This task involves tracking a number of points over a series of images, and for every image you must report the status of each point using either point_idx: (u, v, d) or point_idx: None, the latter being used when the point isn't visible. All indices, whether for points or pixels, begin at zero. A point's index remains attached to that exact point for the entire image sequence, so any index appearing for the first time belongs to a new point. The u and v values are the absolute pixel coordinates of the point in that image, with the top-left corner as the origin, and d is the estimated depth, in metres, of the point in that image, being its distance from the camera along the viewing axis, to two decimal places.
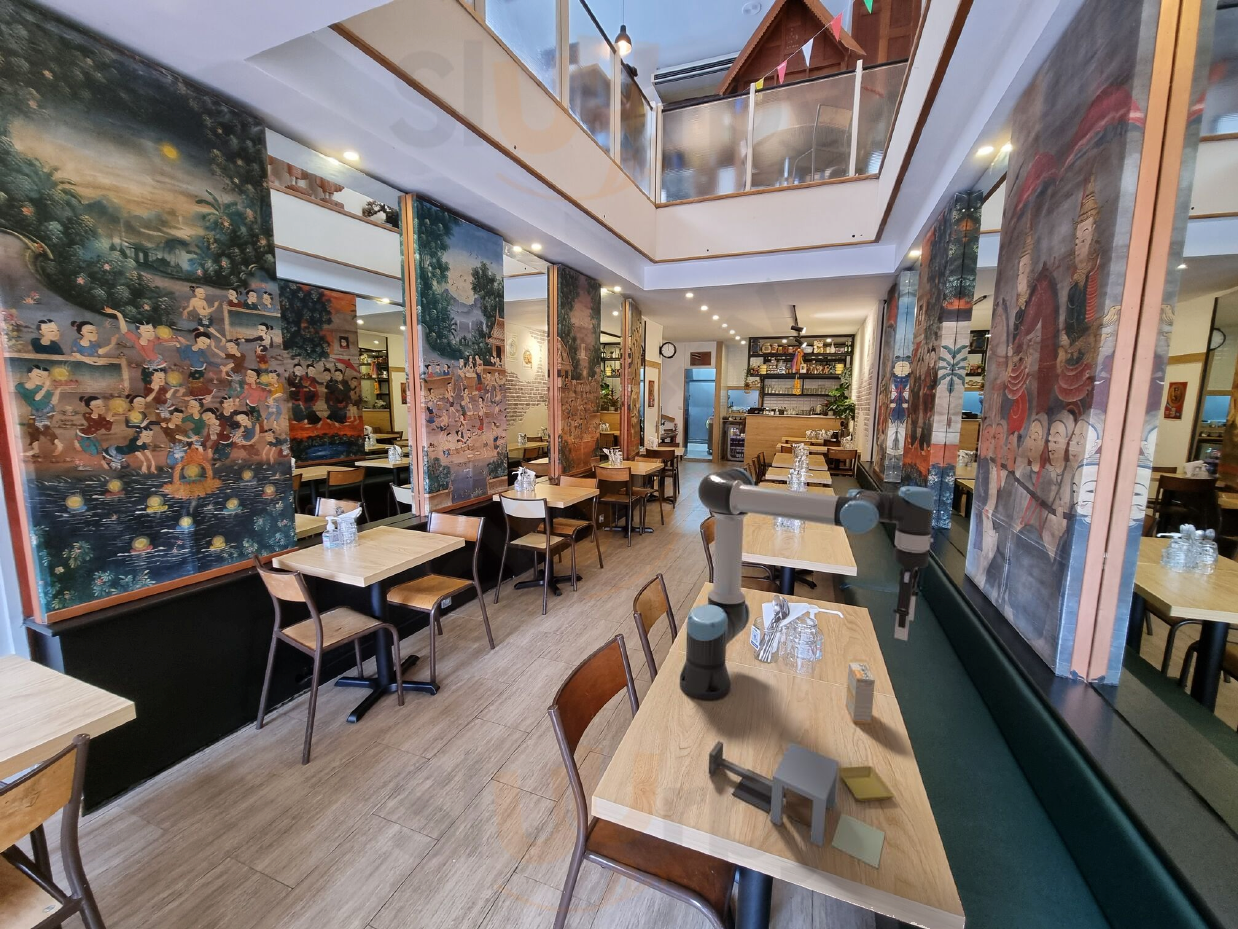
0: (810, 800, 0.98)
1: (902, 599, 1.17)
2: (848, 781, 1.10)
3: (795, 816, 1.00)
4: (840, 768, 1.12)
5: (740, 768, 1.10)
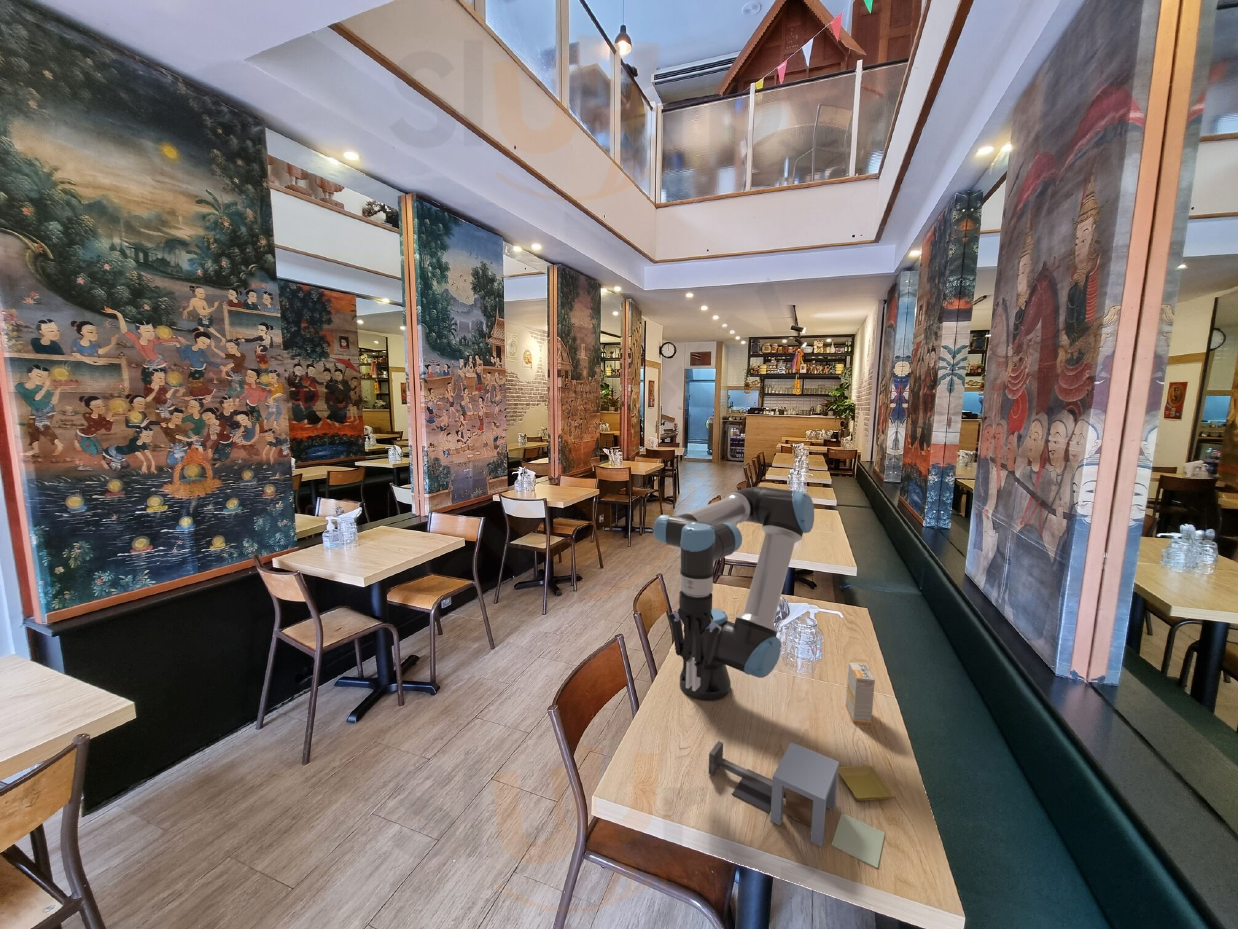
0: (810, 800, 0.98)
1: None
2: (848, 781, 1.10)
3: (795, 816, 1.00)
4: (840, 768, 1.12)
5: (740, 768, 1.10)
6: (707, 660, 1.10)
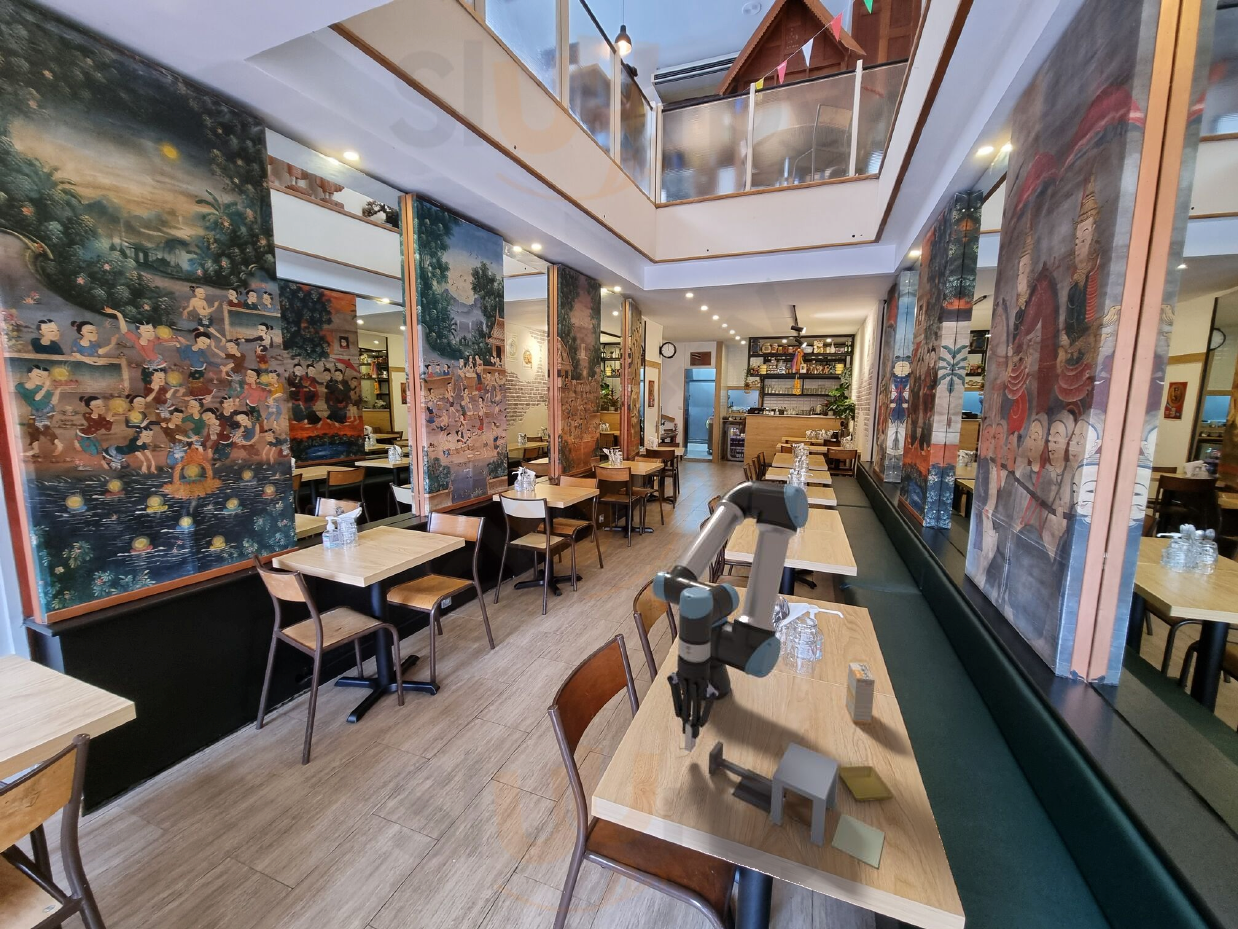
0: (810, 800, 0.98)
1: None
2: (848, 781, 1.10)
3: (795, 816, 1.00)
4: (840, 768, 1.12)
5: (740, 768, 1.10)
6: (702, 723, 1.13)
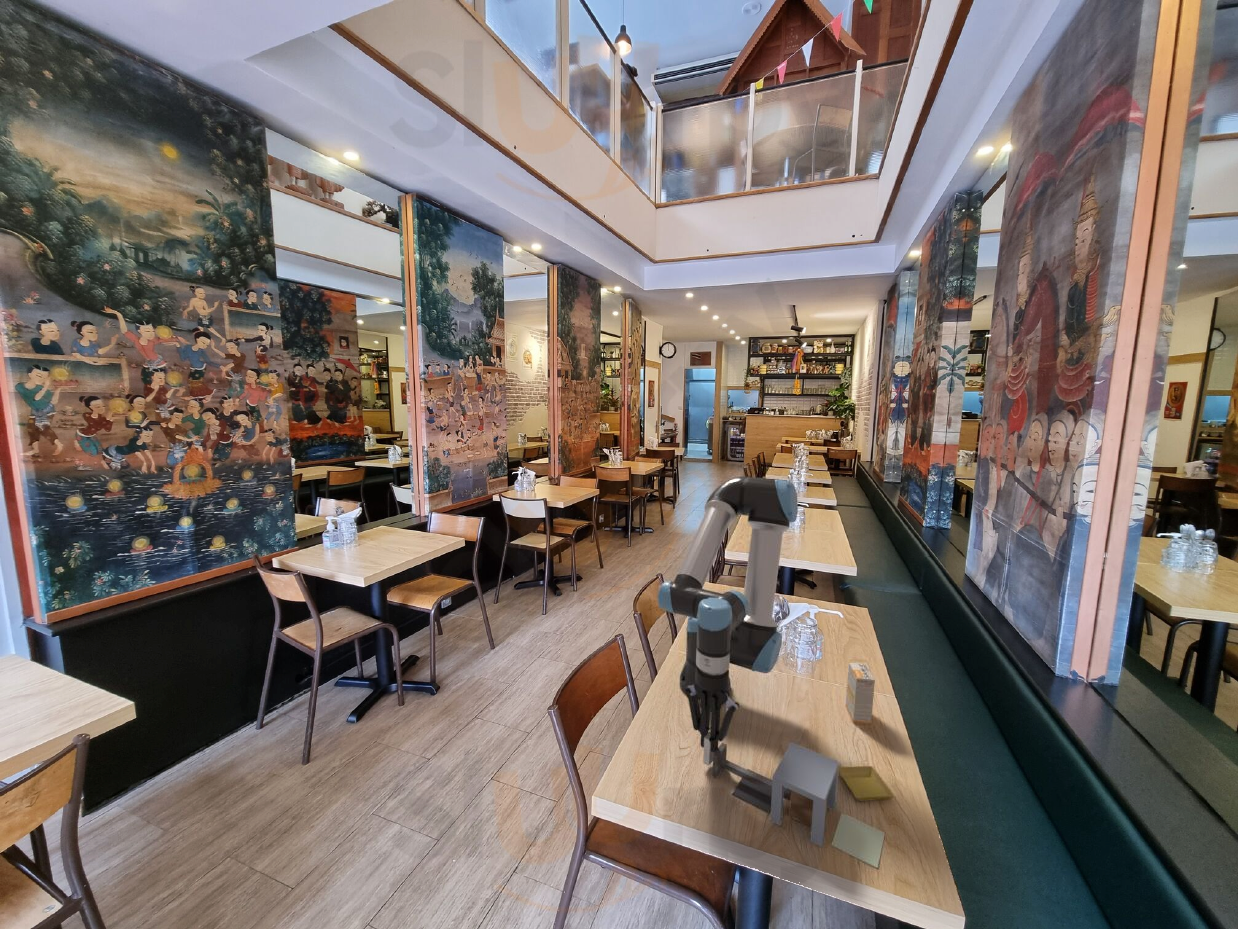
0: None
1: None
2: (848, 781, 1.10)
3: (800, 818, 0.99)
4: (840, 767, 1.12)
5: (744, 770, 1.09)
6: (722, 737, 1.10)
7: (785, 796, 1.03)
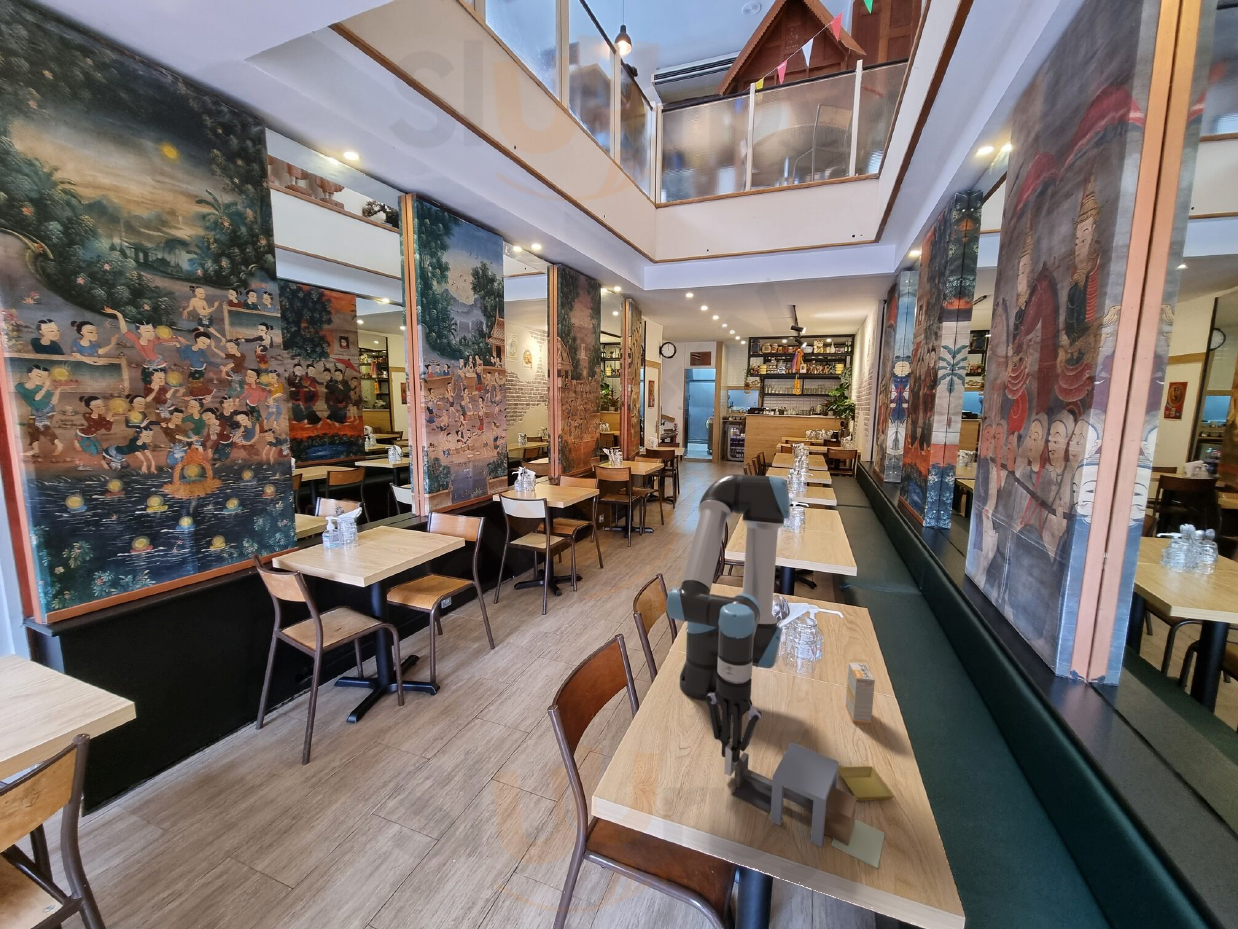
0: (843, 816, 0.94)
1: None
2: (848, 781, 1.10)
3: (827, 832, 0.96)
4: (840, 767, 1.12)
5: (767, 781, 1.06)
6: (744, 746, 1.07)
7: (811, 808, 1.00)
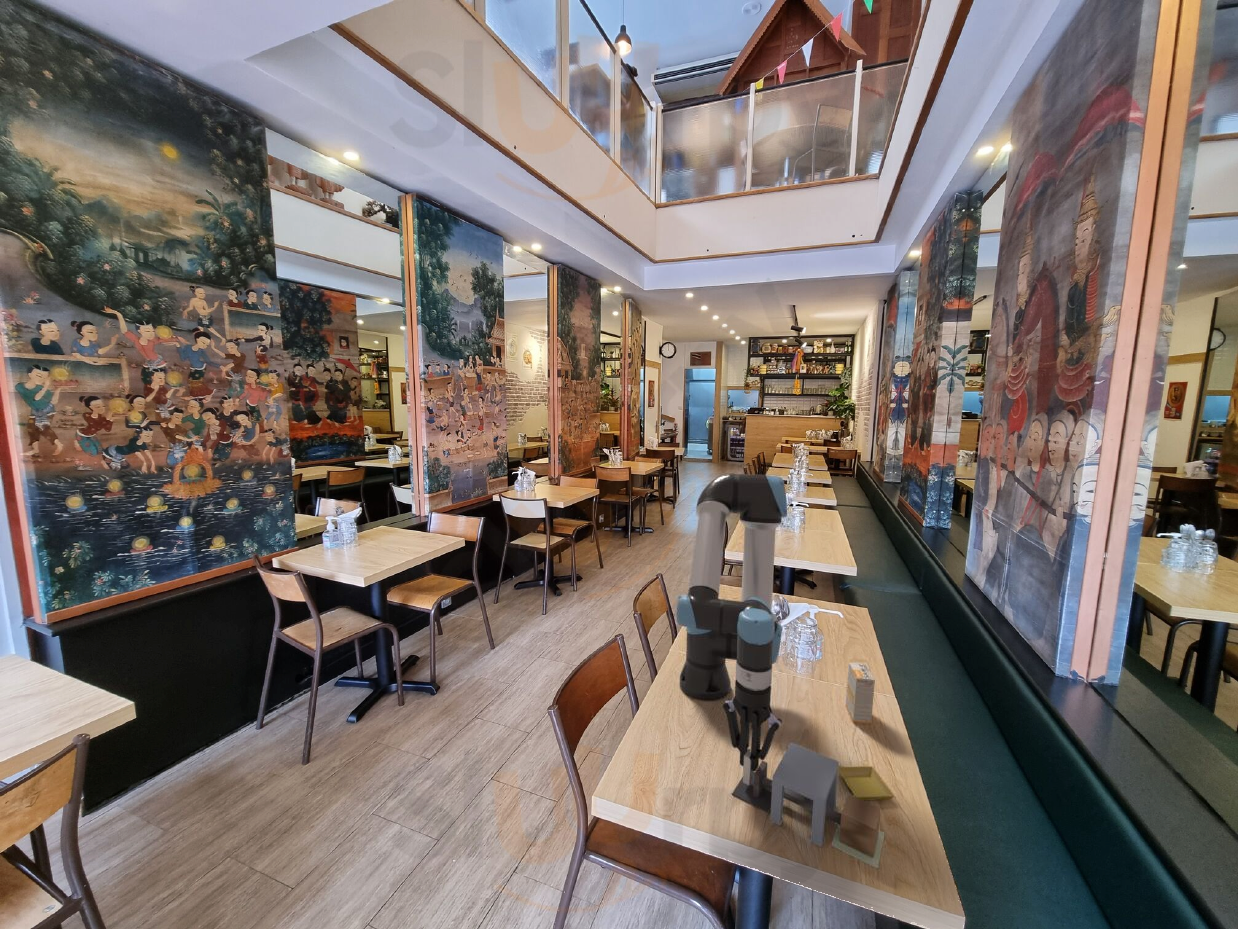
0: (868, 827, 0.91)
1: None
2: (848, 780, 1.10)
3: (851, 844, 0.94)
4: (840, 767, 1.12)
5: (787, 790, 1.04)
6: (764, 755, 1.04)
7: (833, 819, 0.98)
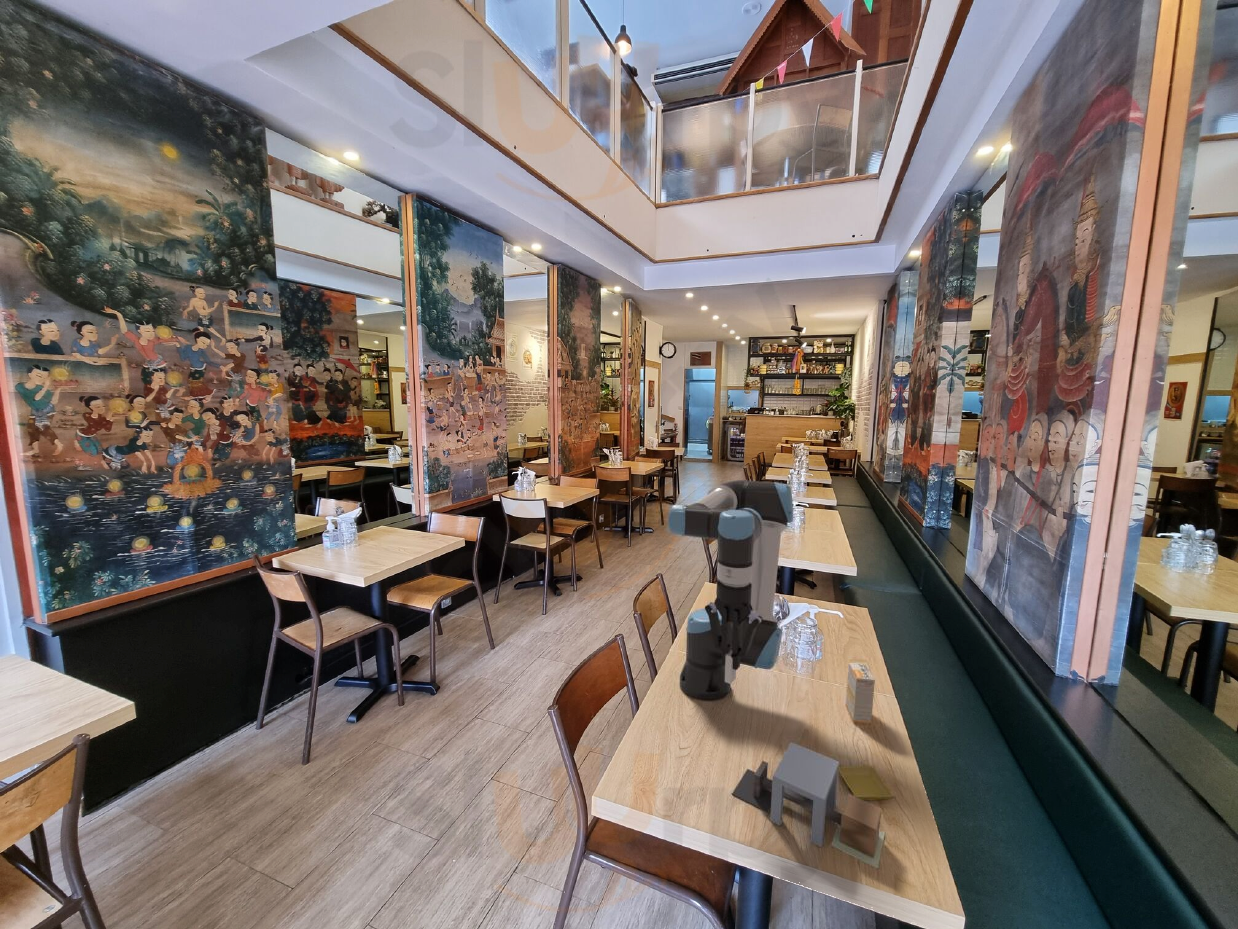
0: (869, 828, 0.91)
1: None
2: (848, 780, 1.10)
3: (851, 844, 0.94)
4: (840, 767, 1.12)
5: (788, 790, 1.03)
6: (744, 652, 1.06)
7: (834, 819, 0.97)
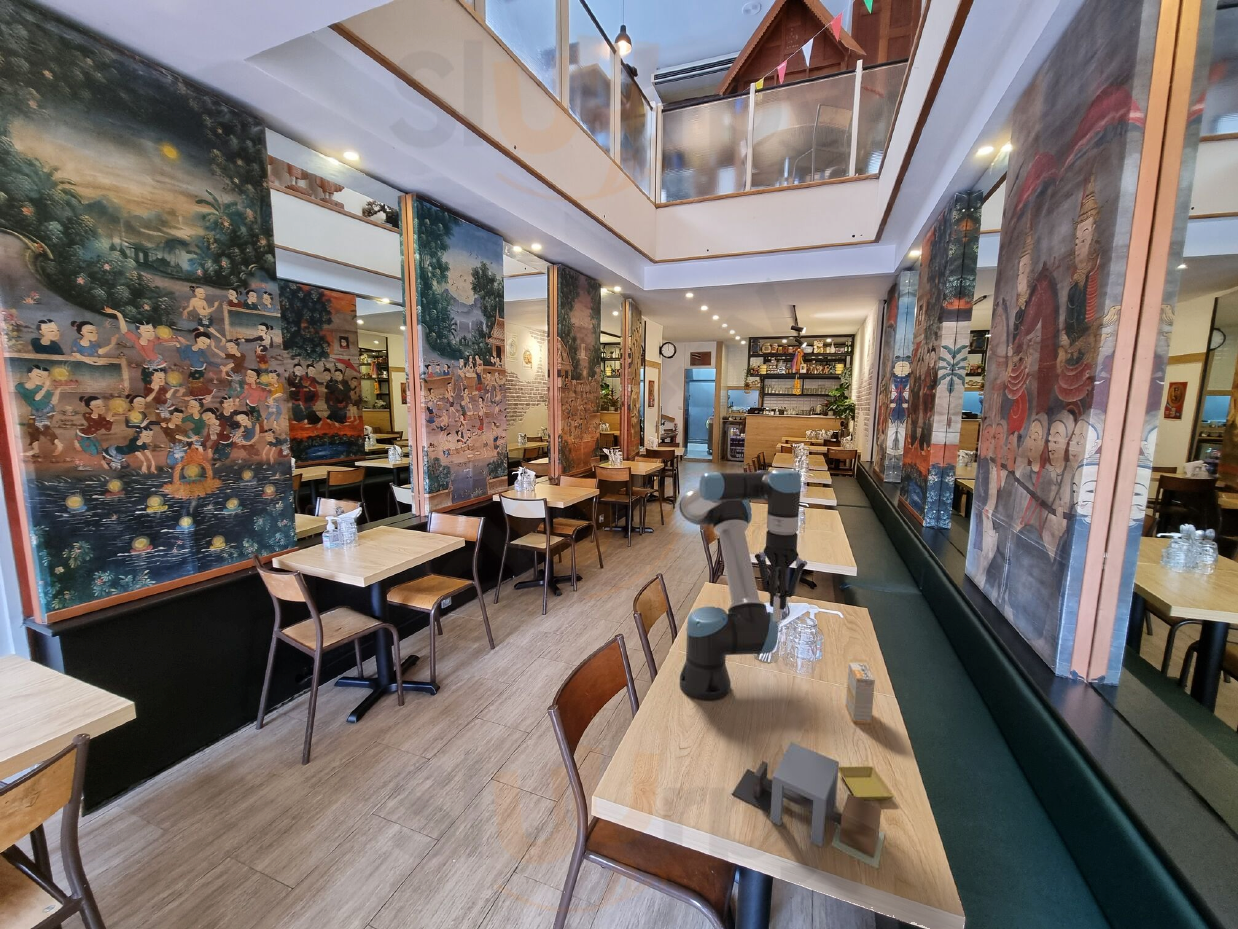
0: (869, 828, 0.91)
1: None
2: (848, 780, 1.10)
3: (851, 844, 0.94)
4: (840, 767, 1.12)
5: (788, 790, 1.03)
6: (791, 592, 1.22)
7: (834, 819, 0.97)
